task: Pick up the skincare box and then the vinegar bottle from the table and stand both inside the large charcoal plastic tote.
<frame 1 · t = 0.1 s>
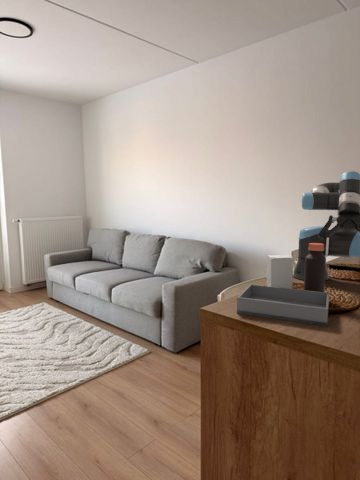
hand: (347, 256, 119), 15 cm above the table, tool tilted 35°, fingers open, 13 cm apart
vinegar: (313, 299, 120), on the table
tote: (283, 310, 108), on the table
skincare box: (278, 295, 125), on the table
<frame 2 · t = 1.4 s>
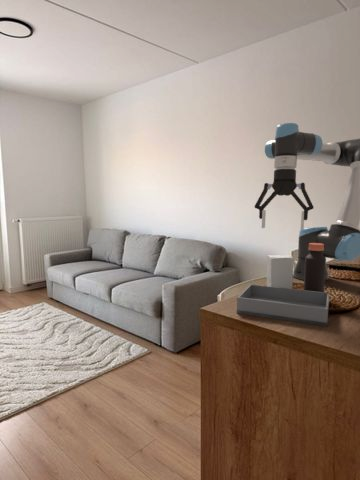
hand: (282, 228, 121), 25 cm above the table, tool pointing down, fingers open, 13 cm apart
nothing on the table moved.
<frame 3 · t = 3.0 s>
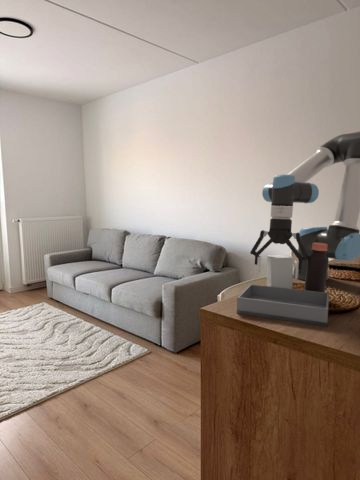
hand: (277, 275, 123), 7 cm above the table, tool pointing down, fingers open, 13 cm apart
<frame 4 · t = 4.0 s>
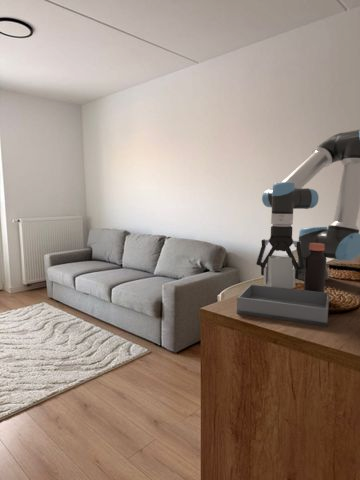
hand: (279, 285, 124), 4 cm above the table, tool pointing down, fingers closed on skincare box, 9 cm apart
skincare box: (278, 295, 125), on the table, touching gripper
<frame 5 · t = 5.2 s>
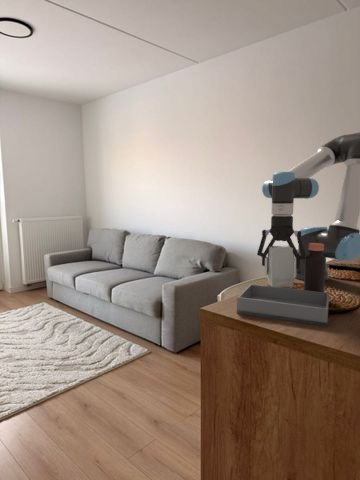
hand: (280, 275, 124), 7 cm above the table, tool pointing down, fingers closed on skincare box, 9 cm apart
skincare box: (279, 285, 124), point 3 cm above the table, touching gripper
everything else where it was.
when the fingers open (7 cm above the table, at t = 10.9 s): skincare box drops 2 cm, resting on tote.
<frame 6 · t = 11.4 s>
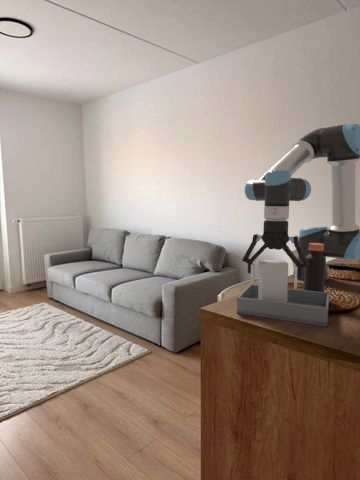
hand: (273, 285, 108), 8 cm above the table, tool pointing down, fingers open, 13 cm apart
skincare box: (271, 306, 109), point 1 cm above the table, touching tote
everything else where it was.
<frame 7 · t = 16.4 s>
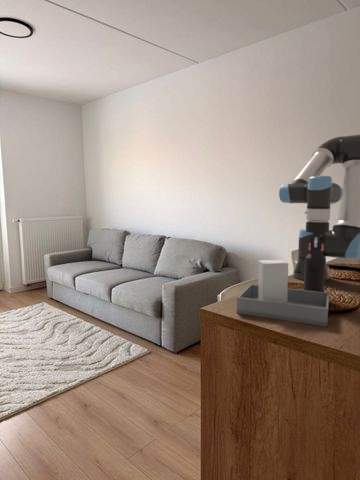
hand: (314, 286, 119), 5 cm above the table, tool pointing down, fingers open, 4 cm apart
vinegar: (313, 299, 120), on the table, touching gripper
everything else where it was.
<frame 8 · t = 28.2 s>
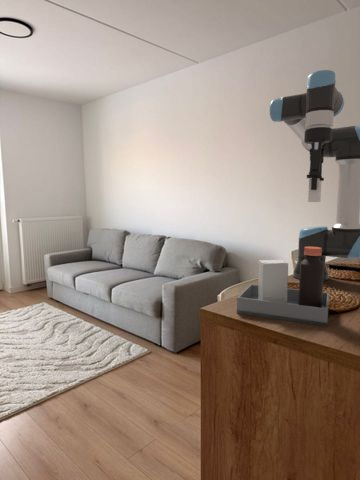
hand: (314, 202, 100), 35 cm above the table, tool pointing down, fingers open, 13 cm apart
vinegar: (309, 312, 103), point 1 cm above the table, touching tote
everything else where it was.
at the end: skincare box inside the target area on the tote (3.8 cm from its centre), point 0.8 cm above the tote's base; vinegar inside the target area on the tote (7.8 cm from its centre), point 0.8 cm above the tote's base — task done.
